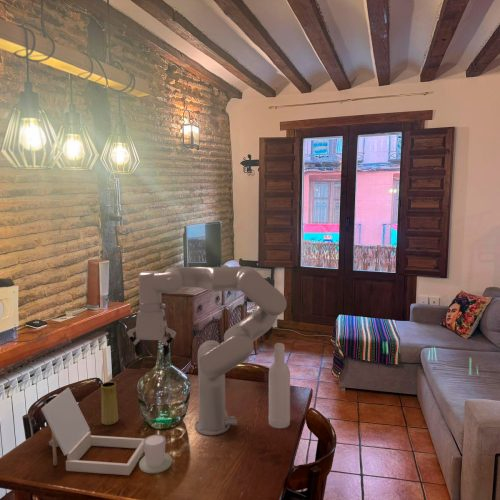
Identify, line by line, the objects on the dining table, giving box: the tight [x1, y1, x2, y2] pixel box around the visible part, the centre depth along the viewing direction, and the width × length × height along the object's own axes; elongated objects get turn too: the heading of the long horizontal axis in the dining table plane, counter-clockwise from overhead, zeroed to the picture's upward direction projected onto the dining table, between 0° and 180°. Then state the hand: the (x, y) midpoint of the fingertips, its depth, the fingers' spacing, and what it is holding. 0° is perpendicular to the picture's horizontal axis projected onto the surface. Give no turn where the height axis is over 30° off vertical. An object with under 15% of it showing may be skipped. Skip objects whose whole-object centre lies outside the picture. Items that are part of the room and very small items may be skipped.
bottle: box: [267, 342, 291, 430], centre depth 158 cm, size 8×8×30 cm
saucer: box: [138, 452, 173, 474], centre depth 135 cm, size 10×10×1 cm
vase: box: [100, 381, 119, 426], centre depth 161 cm, size 6×6×14 cm
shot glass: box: [143, 434, 167, 467], centre depth 135 cm, size 7×7×7 cm
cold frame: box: [40, 387, 145, 476], centre depth 138 cm, size 27×15×20 cm, turn 83°
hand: (152, 355), depth 151 cm, fingers open, 9 cm apart
